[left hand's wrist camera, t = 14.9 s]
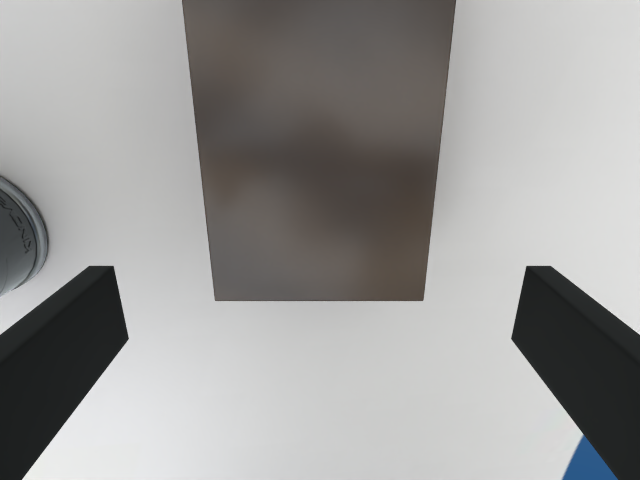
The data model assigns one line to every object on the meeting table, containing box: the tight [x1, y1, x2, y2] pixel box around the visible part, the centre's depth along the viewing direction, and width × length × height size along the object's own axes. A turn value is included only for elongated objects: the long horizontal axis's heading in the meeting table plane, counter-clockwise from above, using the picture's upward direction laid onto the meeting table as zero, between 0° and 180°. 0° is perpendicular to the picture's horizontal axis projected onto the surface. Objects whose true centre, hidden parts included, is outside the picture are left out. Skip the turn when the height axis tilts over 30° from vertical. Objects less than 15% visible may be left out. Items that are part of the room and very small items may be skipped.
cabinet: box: [182, 0, 456, 301], centre depth 22 cm, size 16×11×9 cm
